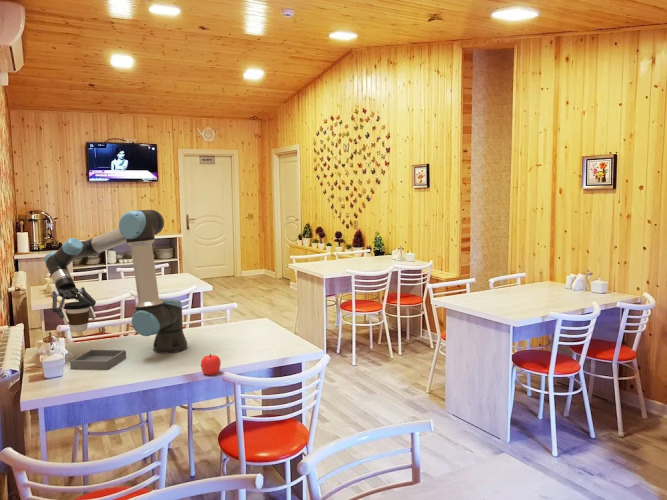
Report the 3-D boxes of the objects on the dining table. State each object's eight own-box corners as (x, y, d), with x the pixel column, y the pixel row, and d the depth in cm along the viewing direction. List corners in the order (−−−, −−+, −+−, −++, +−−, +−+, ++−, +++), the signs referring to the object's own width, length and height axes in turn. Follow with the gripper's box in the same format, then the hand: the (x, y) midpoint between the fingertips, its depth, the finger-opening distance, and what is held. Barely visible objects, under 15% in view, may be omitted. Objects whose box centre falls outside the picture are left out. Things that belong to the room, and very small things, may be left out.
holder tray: (91, 357, 240) (91, 349, 239) (126, 358, 238) (125, 350, 238) (70, 369, 224) (70, 360, 224) (107, 369, 222) (107, 361, 222)
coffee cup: (59, 332, 234) (57, 305, 233) (79, 326, 245) (77, 300, 243) (78, 334, 230) (76, 306, 229) (98, 328, 241) (96, 301, 239)
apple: (196, 375, 215) (196, 355, 214) (208, 369, 222) (207, 350, 221) (214, 377, 212) (213, 357, 211) (225, 371, 219) (224, 351, 218)
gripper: (87, 283, 254) (104, 320, 246) (33, 290, 237) (50, 331, 228) (91, 273, 250) (109, 311, 242) (37, 279, 233) (55, 320, 224)
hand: (81, 320), depth 235 cm, fingers closed on coffee cup, 11 cm apart
